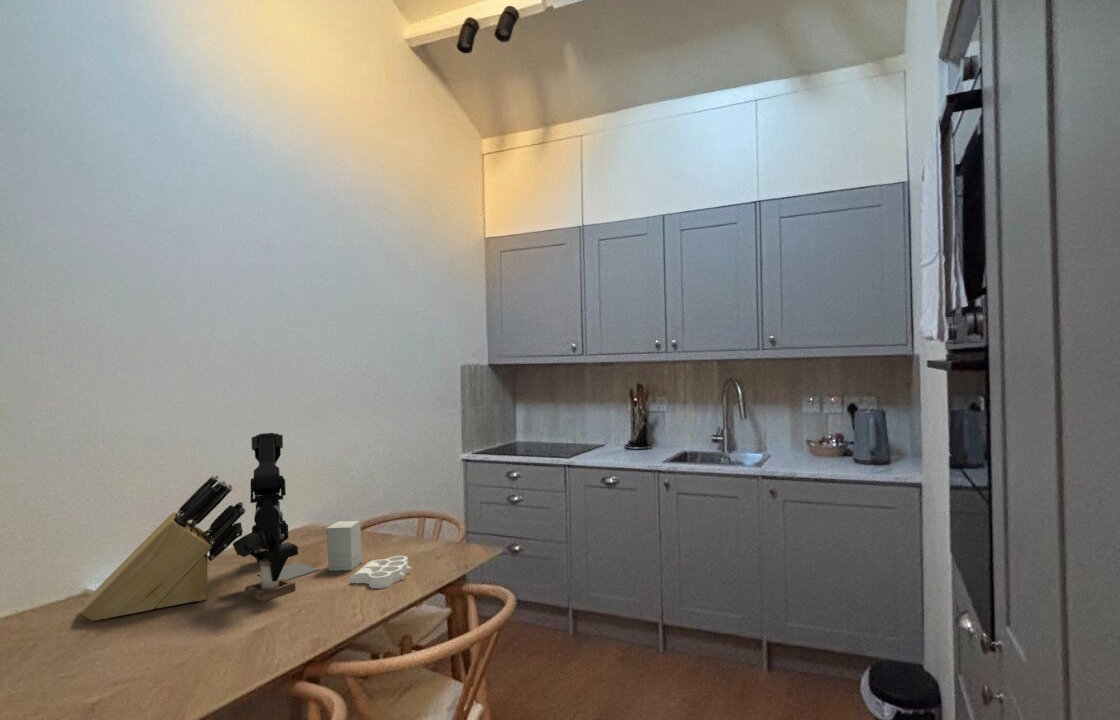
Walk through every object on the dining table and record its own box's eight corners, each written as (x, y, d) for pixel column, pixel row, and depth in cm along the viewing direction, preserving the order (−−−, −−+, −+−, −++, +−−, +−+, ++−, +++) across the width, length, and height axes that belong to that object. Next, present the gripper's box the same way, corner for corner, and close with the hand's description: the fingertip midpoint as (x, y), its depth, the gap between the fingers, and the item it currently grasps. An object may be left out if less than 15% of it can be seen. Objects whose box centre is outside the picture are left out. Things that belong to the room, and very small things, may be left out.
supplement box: (362, 562, 183) (361, 520, 183) (351, 571, 176) (350, 527, 176) (339, 562, 184) (337, 520, 184) (327, 571, 176) (325, 527, 176)
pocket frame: (245, 594, 160) (245, 587, 160) (278, 584, 167) (277, 576, 167) (262, 601, 155) (262, 593, 155) (295, 590, 162) (295, 583, 162)
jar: (257, 590, 160) (256, 560, 160) (274, 585, 164) (273, 555, 164) (266, 594, 158) (265, 563, 158) (283, 588, 161) (282, 558, 161)
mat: (257, 575, 175) (257, 574, 175) (296, 563, 185) (296, 562, 185) (279, 583, 168) (279, 581, 168) (319, 570, 177) (319, 569, 177)
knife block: (248, 593, 161) (244, 476, 161) (80, 626, 143) (76, 494, 143) (246, 580, 171) (242, 470, 171) (88, 610, 153) (84, 486, 153)
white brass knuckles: (371, 567, 180) (420, 566, 178) (344, 590, 162) (397, 590, 161) (371, 555, 180) (419, 555, 178) (343, 577, 162) (397, 577, 161)
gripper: (219, 522, 160) (221, 582, 160) (255, 532, 149) (257, 596, 149) (262, 513, 169) (263, 569, 169) (298, 522, 158) (300, 582, 158)
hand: (270, 579), depth 161 cm, fingers closed on jar, 4 cm apart
